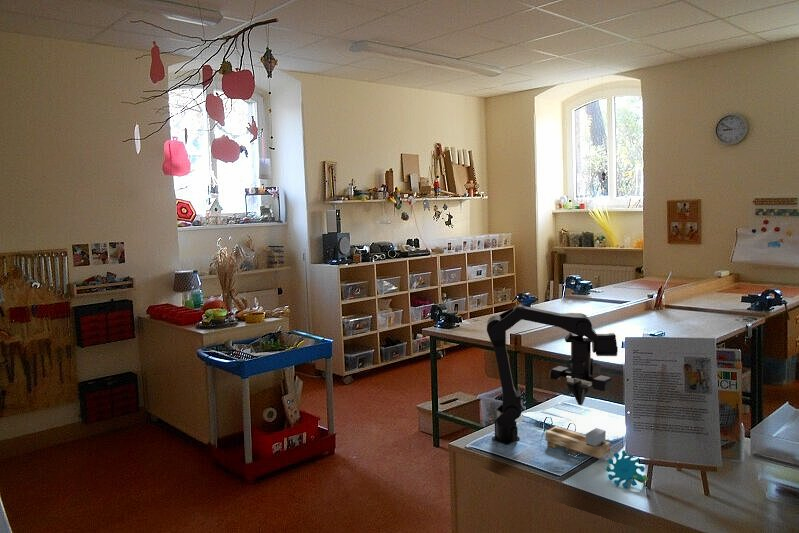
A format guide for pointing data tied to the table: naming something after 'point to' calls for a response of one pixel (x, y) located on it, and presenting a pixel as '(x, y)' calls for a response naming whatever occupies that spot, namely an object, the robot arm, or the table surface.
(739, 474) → the table surface
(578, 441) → the beam
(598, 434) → the white rectangular block
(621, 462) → the gear
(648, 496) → the table surface
